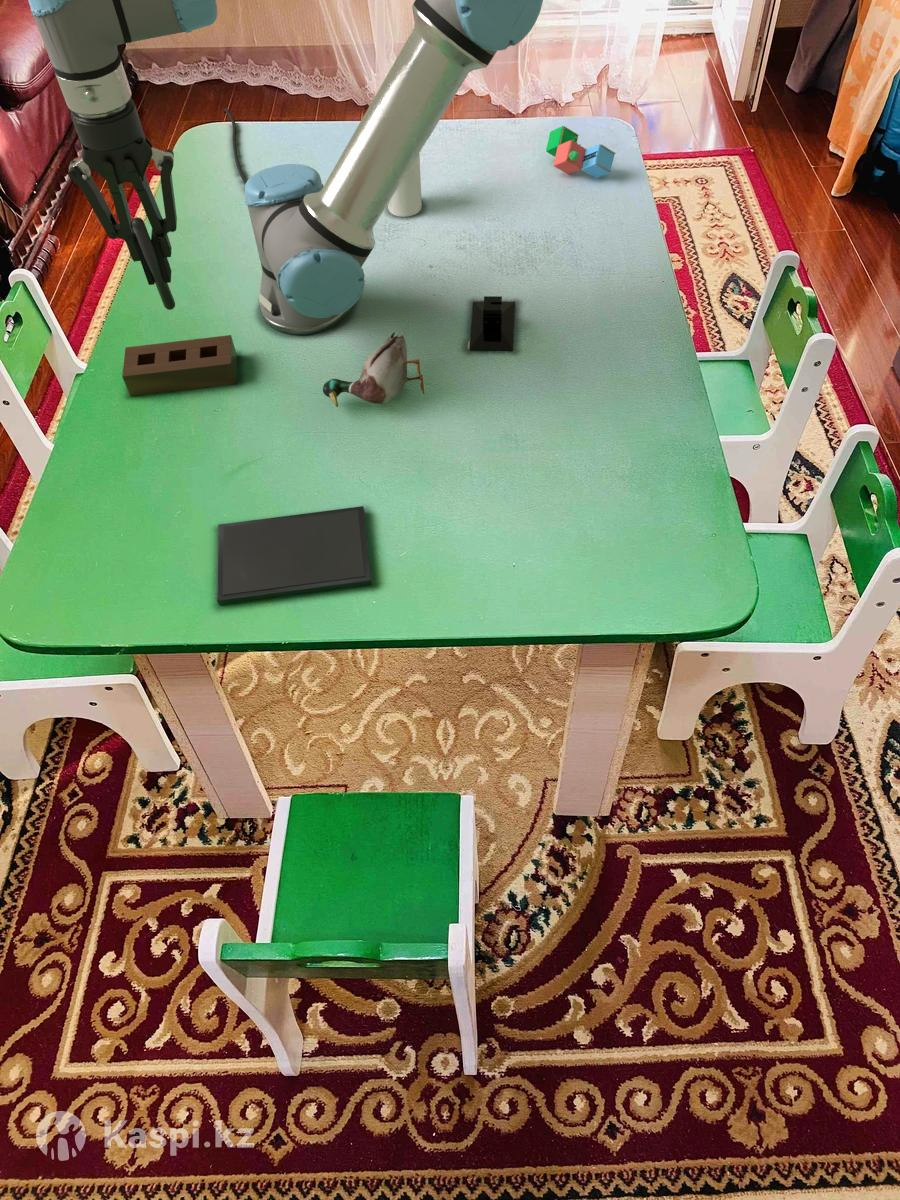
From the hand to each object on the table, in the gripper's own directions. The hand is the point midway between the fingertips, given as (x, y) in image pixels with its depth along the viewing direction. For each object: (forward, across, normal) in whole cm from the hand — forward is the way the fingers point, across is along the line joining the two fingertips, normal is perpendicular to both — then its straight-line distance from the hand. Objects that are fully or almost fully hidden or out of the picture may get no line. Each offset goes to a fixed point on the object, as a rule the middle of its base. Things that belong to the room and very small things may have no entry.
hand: (160, 277), depth 127 cm
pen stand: (+20, -2, +4) cm, 21 cm away
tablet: (+20, +13, -36) cm, 44 cm away
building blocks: (+21, +72, +50) cm, 90 cm away
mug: (+21, +36, +44) cm, 60 cm away
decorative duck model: (+21, +28, -4) cm, 35 cm away
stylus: (+5, 0, 0) cm, 5 cm away
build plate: (+21, +48, +6) cm, 52 cm away
